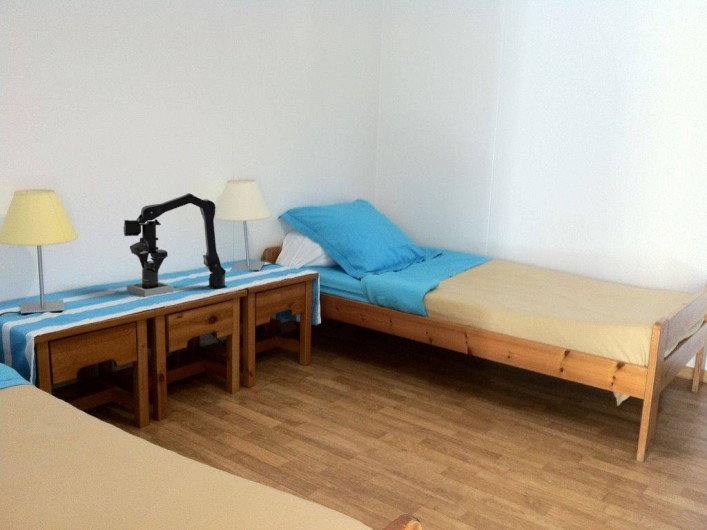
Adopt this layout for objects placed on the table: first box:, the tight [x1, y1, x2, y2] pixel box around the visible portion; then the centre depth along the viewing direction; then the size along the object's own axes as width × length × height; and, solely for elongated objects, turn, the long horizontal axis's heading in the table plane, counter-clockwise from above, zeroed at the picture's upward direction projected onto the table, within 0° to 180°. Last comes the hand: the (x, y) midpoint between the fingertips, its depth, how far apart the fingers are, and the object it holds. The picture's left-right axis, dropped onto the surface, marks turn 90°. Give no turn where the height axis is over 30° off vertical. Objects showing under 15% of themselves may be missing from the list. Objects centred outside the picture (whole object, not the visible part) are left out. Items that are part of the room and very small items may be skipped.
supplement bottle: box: [141, 260, 159, 289], centre depth 297 cm, size 7×7×12 cm
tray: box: [126, 281, 174, 297], centre depth 299 cm, size 14×14×3 cm
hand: (149, 271), depth 297 cm, fingers open, 9 cm apart
